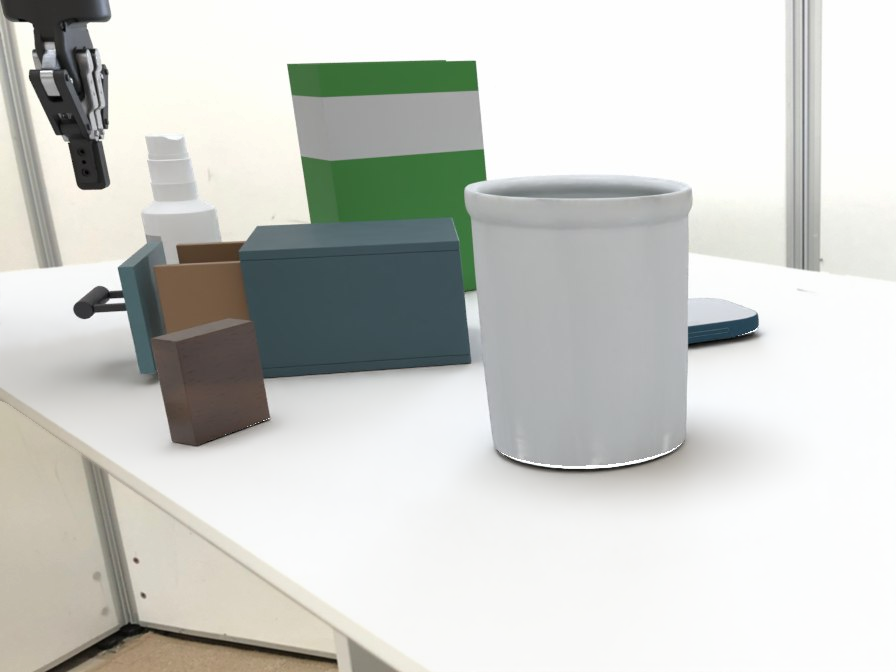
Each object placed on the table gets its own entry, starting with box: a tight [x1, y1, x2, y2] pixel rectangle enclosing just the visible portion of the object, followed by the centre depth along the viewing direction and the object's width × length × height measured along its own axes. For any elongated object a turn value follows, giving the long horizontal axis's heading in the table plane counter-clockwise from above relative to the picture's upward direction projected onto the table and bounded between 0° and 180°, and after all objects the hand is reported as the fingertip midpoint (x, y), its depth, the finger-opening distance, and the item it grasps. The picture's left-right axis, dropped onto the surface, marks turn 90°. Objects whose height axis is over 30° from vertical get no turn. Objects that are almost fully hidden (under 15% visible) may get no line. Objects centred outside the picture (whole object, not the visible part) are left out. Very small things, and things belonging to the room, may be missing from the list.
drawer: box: [72, 240, 250, 375], centre depth 105 cm, size 21×13×9 cm, turn 105°
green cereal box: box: [286, 59, 488, 292], centre depth 130 cm, size 18×7×24 cm, turn 131°
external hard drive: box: [688, 297, 760, 345], centre depth 112 cm, size 24×12×2 cm, turn 120°
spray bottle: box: [140, 133, 223, 265], centre depth 118 cm, size 7×7×18 cm
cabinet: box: [238, 217, 472, 379], centre depth 108 cm, size 18×15×11 cm
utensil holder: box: [464, 174, 694, 466], centre depth 82 cm, size 15×15×18 cm
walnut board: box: [151, 318, 271, 447], centre depth 86 cm, size 2×7×8 cm, turn 155°
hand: (94, 188), depth 99 cm, fingers closed
